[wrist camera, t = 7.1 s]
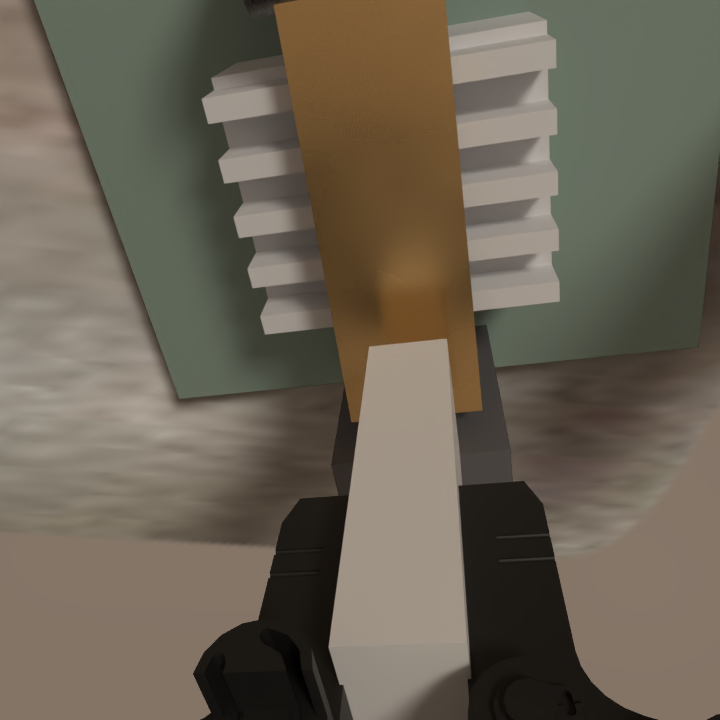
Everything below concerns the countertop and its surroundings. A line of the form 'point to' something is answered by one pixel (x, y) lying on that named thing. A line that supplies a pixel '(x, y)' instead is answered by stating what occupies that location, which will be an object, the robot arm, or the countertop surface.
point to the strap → (382, 176)
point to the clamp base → (478, 172)
